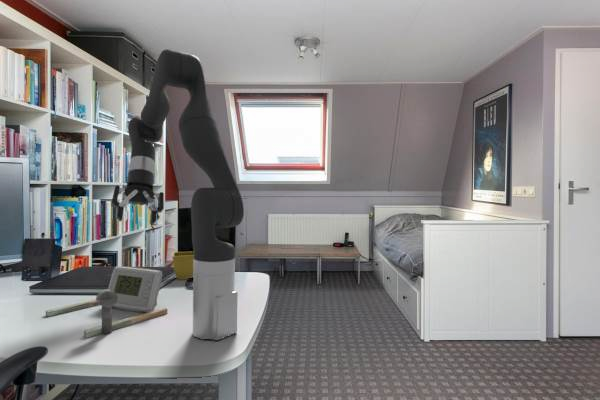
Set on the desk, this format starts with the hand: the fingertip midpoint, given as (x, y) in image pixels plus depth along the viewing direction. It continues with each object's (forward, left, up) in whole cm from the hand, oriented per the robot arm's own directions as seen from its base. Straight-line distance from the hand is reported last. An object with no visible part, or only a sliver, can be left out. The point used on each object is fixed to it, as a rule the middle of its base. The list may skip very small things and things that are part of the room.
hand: (136, 222), depth 108 cm
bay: (-9, +12, -23) cm, 27 cm away
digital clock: (-7, +5, -23) cm, 25 cm away
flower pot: (+8, -24, -23) cm, 34 cm away
